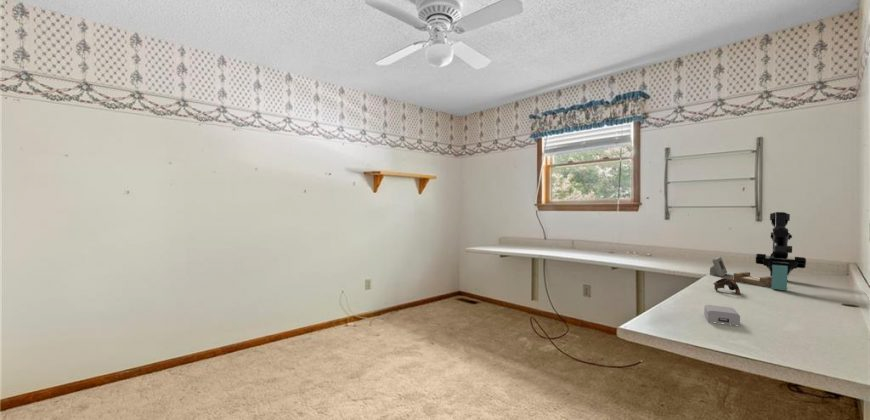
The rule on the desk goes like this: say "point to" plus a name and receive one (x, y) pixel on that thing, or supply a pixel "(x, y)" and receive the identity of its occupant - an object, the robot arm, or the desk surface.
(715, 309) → the charger
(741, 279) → the display stand
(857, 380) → the desk surface
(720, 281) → the brown curved arch
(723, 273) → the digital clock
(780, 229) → the robot arm
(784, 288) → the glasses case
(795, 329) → the desk surface
